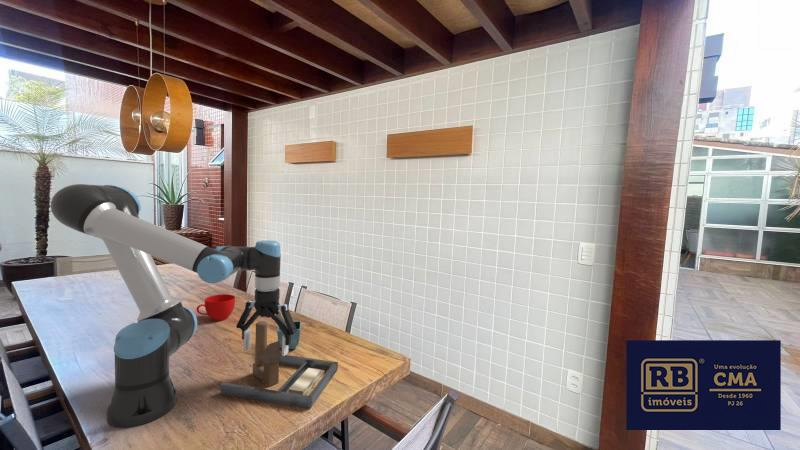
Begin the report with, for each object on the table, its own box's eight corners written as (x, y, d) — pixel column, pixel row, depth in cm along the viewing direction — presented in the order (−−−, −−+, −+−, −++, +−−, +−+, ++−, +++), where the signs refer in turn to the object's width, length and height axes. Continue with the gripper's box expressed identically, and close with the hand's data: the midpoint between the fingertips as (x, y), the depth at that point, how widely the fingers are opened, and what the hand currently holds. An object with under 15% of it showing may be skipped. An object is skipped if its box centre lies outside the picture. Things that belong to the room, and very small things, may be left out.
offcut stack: (302, 402, 97) (302, 392, 97) (287, 399, 98) (287, 389, 98) (324, 374, 113) (324, 366, 112) (310, 372, 114) (311, 364, 113)
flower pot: (276, 352, 125) (276, 330, 125) (278, 343, 134) (279, 321, 133) (300, 351, 128) (300, 329, 127) (300, 341, 136) (301, 320, 136)
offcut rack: (310, 408, 93) (310, 398, 93) (220, 394, 98) (220, 384, 98) (337, 370, 115) (337, 362, 115) (262, 359, 120) (262, 351, 119)
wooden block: (268, 387, 103) (269, 332, 101) (252, 374, 110) (253, 322, 108) (279, 382, 105) (280, 329, 104) (262, 370, 112) (263, 319, 111)
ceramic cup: (190, 321, 152) (190, 300, 151) (226, 311, 166) (226, 292, 165) (203, 328, 144) (203, 306, 144) (240, 318, 159) (240, 298, 158)
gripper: (308, 288, 107) (306, 351, 108) (240, 282, 111) (239, 342, 113) (297, 295, 100) (295, 361, 101) (224, 287, 104) (224, 351, 105)
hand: (266, 351), depth 107 cm, fingers open, 13 cm apart
